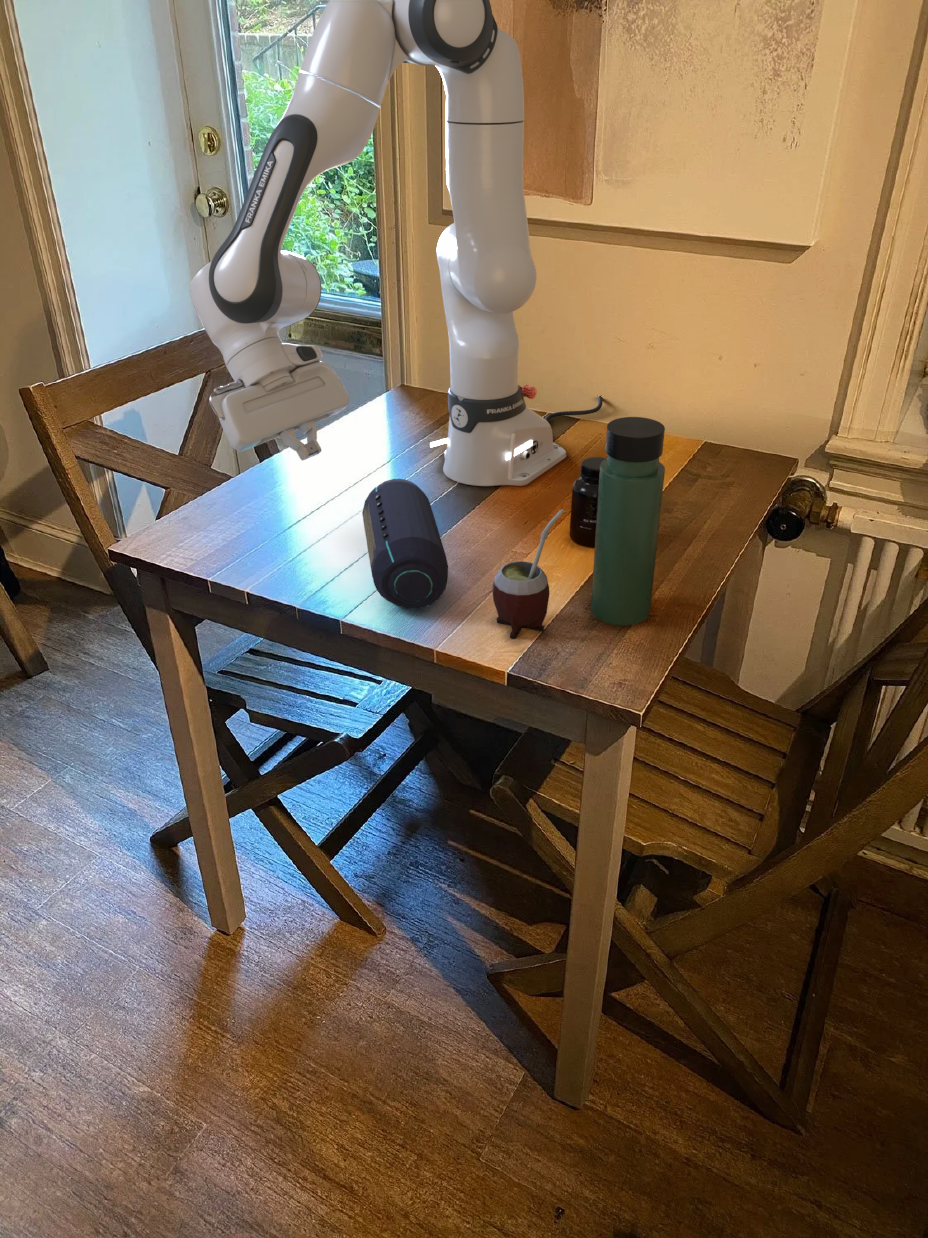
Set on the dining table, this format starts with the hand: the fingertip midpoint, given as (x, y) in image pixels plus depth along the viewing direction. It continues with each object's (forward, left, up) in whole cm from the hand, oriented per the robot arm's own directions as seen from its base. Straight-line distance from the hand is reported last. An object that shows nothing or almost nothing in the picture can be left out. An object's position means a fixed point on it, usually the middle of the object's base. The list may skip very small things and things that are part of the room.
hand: (312, 455), depth 136 cm
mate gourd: (-2, +40, -12) cm, 42 cm away
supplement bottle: (-26, +32, -12) cm, 43 cm away
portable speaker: (0, +19, -12) cm, 23 cm away
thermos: (-13, +47, -12) cm, 50 cm away
